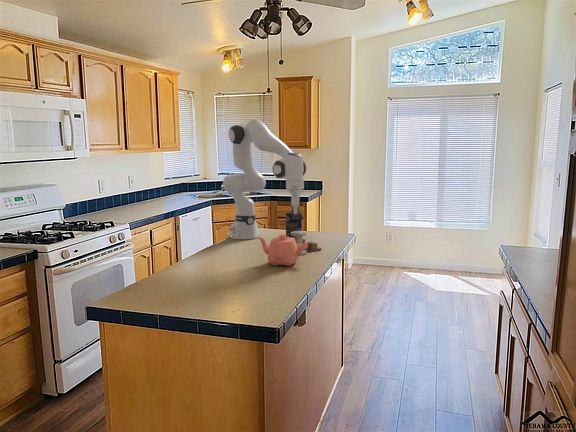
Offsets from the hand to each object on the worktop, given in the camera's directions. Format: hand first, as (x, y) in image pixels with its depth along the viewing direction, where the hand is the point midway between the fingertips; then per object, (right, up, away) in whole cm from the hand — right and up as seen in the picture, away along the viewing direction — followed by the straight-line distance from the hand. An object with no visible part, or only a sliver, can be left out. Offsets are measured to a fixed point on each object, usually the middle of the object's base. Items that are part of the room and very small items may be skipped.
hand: (295, 213), depth 227 cm
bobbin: (+2, -21, +10) cm, 23 cm away
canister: (0, -16, +39) cm, 42 cm away
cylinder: (0, -3, 0) cm, 3 cm away
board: (+6, -19, +21) cm, 29 cm away
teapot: (-6, -25, -9) cm, 27 cm away
